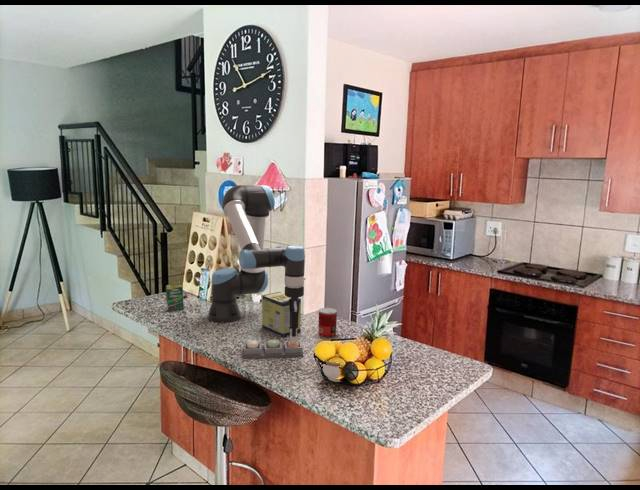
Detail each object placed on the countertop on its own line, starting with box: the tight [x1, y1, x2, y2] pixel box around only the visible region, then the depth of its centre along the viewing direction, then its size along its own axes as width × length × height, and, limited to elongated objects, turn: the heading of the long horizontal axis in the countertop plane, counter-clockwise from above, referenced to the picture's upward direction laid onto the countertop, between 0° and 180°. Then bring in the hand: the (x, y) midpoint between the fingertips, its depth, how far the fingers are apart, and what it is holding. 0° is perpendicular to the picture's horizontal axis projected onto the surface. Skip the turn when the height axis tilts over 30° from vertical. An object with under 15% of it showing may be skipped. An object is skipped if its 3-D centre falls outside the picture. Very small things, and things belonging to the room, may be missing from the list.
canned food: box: [317, 307, 338, 338], centre depth 200 cm, size 8×8×11 cm
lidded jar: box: [322, 361, 341, 383], centre depth 159 cm, size 11×11×9 cm
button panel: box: [243, 340, 304, 360], centre depth 180 cm, size 23×10×3 cm, turn 99°
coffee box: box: [165, 283, 185, 312], centre depth 227 cm, size 8×3×13 cm, turn 118°
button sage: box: [267, 339, 280, 348], centre depth 179 cm, size 4×4×2 cm
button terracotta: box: [287, 341, 299, 347], centre depth 181 cm, size 4×4×2 cm
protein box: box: [261, 291, 302, 338], centre depth 204 cm, size 10×16×16 cm
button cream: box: [246, 339, 259, 349], centre depth 178 cm, size 4×4×2 cm
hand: (293, 343), depth 180 cm, fingers closed
